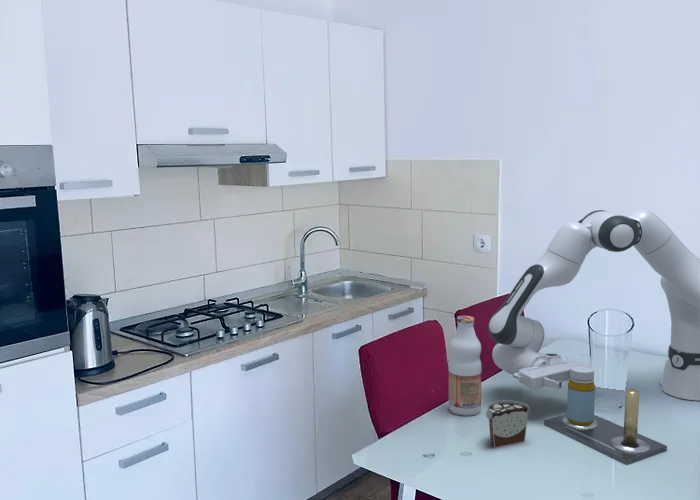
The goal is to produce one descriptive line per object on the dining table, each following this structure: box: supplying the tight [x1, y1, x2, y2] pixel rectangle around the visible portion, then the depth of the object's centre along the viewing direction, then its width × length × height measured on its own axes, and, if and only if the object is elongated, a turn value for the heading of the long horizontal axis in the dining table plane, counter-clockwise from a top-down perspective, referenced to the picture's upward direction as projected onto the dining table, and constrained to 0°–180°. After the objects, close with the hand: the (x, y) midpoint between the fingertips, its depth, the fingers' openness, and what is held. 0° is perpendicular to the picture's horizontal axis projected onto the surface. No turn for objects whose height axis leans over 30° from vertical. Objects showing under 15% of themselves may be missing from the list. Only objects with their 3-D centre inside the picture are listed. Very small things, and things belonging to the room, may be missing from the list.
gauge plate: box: [543, 388, 668, 465], centre depth 169 cm, size 15×27×15 cm, turn 28°
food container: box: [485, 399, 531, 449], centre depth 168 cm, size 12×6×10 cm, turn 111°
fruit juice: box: [448, 315, 482, 417], centre depth 187 cm, size 9×9×28 cm
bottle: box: [566, 364, 596, 426], centre depth 175 cm, size 7×7×15 cm
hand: (572, 382), depth 177 cm, fingers open, 8 cm apart
